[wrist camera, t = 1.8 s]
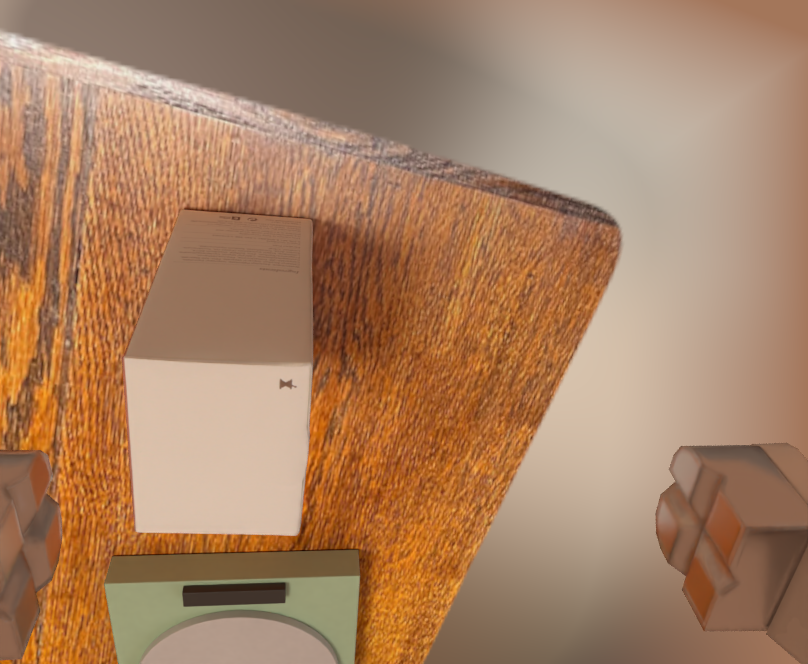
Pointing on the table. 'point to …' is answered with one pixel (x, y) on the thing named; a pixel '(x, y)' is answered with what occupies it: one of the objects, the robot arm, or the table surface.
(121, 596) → the scale
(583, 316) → the table surface
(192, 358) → the small box
